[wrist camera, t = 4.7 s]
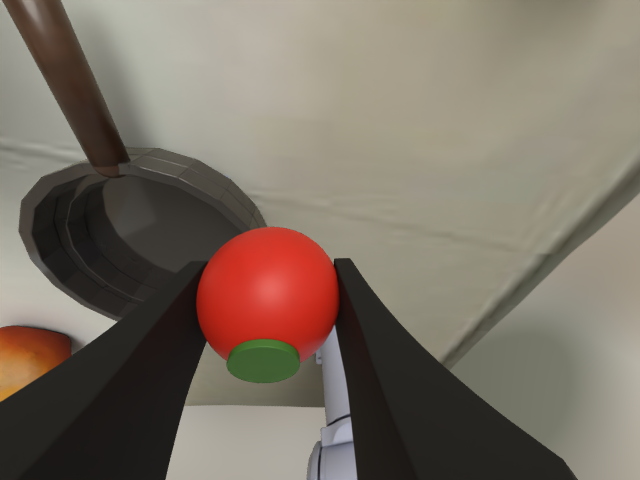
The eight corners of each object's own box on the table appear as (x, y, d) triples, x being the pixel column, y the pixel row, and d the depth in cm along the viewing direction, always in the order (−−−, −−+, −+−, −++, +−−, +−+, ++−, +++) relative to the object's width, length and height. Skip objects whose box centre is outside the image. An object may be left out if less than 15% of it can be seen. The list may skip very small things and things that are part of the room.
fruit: (-23, 368, 24) (-133, 442, 17) (19, 299, 24) (-71, 341, 17) (73, 384, 27) (17, 452, 20) (109, 323, 27) (66, 367, 20)
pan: (278, 297, 23) (274, 328, 20) (125, 302, 22) (99, 336, 19) (260, 146, 15) (251, 164, 12) (15, 143, 14) (-58, 162, 11)
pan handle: (142, 172, 13) (125, 183, 12) (112, 172, 13) (91, 183, 12) (19, -121, 8) (-38, -161, 6) (-35, -126, 7) (-107, -168, 6)
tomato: (328, 288, 12) (343, 398, 8) (231, 291, 12) (195, 408, 8) (336, 202, 9) (365, 305, 5) (207, 202, 9) (129, 313, 5)
